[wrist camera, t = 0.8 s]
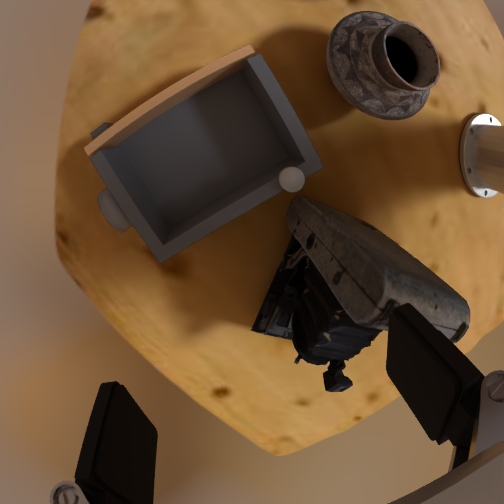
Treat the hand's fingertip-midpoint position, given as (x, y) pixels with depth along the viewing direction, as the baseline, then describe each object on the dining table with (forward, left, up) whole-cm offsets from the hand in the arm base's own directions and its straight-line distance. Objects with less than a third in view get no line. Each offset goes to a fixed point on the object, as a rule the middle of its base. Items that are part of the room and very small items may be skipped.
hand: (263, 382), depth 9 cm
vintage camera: (-4, +10, -24) cm, 26 cm away
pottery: (-23, -13, -24) cm, 36 cm away
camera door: (-1, -13, -22) cm, 25 cm away
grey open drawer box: (0, -6, -23) cm, 24 cm away
